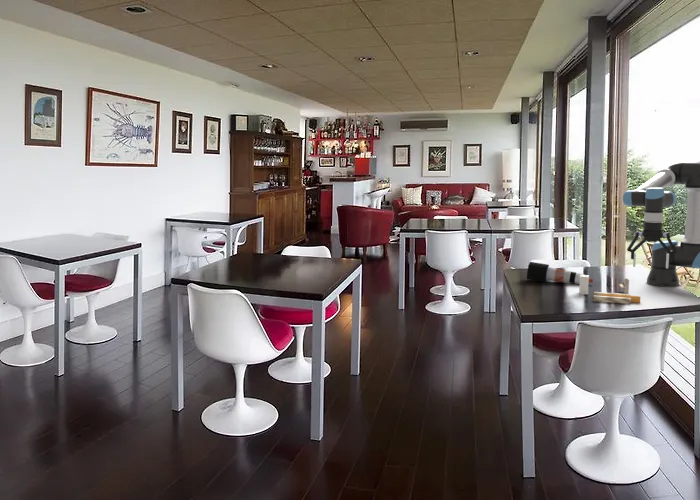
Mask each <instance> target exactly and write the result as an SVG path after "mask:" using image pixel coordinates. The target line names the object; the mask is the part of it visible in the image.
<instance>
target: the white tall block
mask: <svg viewBox="0 0 700 500" xmlns="http://www.w3.org/2000/svg"><path fill="white" fill-rule="evenodd" d="M589 278H590V275H589V274H588V275H587V274H583V275H580V284H579V289H578V290H579V291H578V292H579V295H589V283H590V282H589Z"/></svg>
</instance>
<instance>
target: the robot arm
mask: <svg viewBox="0 0 700 500" xmlns="http://www.w3.org/2000/svg"><path fill="white" fill-rule="evenodd" d="M672 185H684V187H685V188H684V189H685V190H686V191H687V200H686V201H687V203H686V215H685V228H684V238H683V239H681V240H680V243H679V241H677V240H672V239H671V236H670V232H668V231H667V232H663V218H664V208H670V207H672V206H674V205H675V204H676V201H677V195H676V194H675V193H674V192H673V191H671V190H665V188H667V187H668V188H669V187H671V186H672ZM622 203H623V205H625V206H628V207H644V215H643V217H644V218H643V221H644V222H643V231H642V232H640V231H638V230H637V231H635V235H634V237H633V238H632V240H631V242H630V244H628V247H627V249H626V251H627V252H629V253H630V259H631V260H633V261H632V266H633V268H635V267H636V258H637V257H636V255H637V253H636V251H637V250H638V249H639V248H640V247H641V246H643V244H645V243H646V242H648V243H651V242H653V244H652V249H651V267H650V271H649V273H648V275H647V277H646V283H647V284H648V285H651V286H657V287H658V286H659V287H679V285H680V281H679V277H678V273H677V267H680V268H681V267H682V268H690V269H700V161H677V162H673V163H671V164H669V165H666V166H664V167H662V168H660V170H658V171H657V172H656V174H655V175H654V176H653V177H651V178H650V179H648V180H647V181H646V182H644V183H642V185H640V186H638V187H637V188H635V189H634V190H630V189H629V190H626V191H624V192H623V195H622ZM641 236H643V238H642V239H641V240H640V241H639V242H638V243H637V244H636V245H635V243H636V241H637V240H638V239H639V237H641ZM662 237H664V238H666V240H662V239H661V238H662ZM634 245H635V246H634Z"/></svg>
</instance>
